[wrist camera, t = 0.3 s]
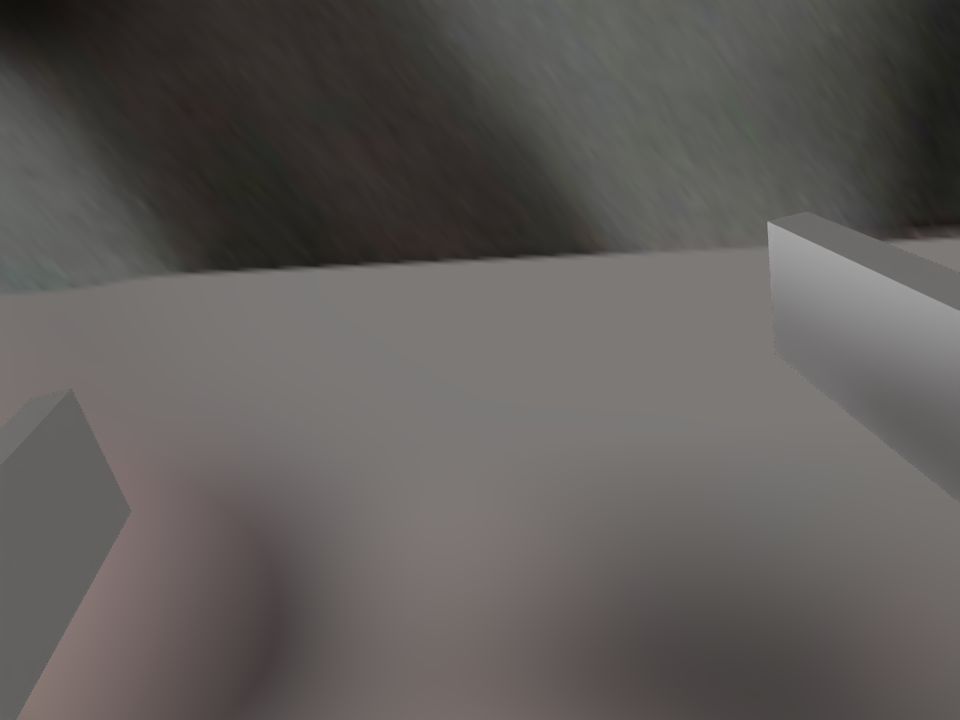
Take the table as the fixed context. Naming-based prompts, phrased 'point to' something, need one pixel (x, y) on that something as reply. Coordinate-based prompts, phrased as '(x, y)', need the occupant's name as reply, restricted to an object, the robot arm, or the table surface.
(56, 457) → the robot arm
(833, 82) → the table surface
